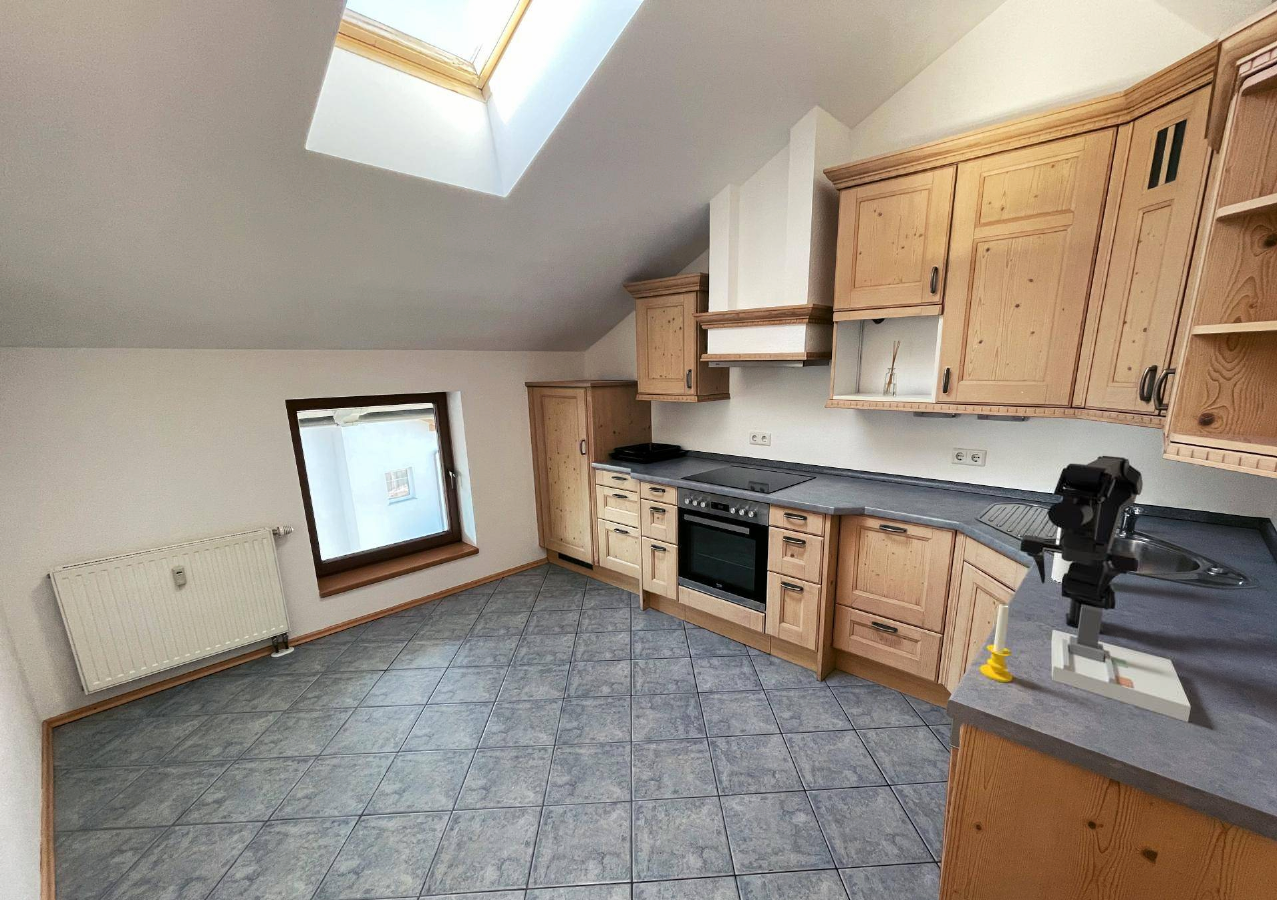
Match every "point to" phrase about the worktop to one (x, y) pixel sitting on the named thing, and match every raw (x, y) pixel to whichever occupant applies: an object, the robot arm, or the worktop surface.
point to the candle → (998, 650)
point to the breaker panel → (1122, 677)
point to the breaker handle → (1088, 634)
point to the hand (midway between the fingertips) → (1070, 588)
